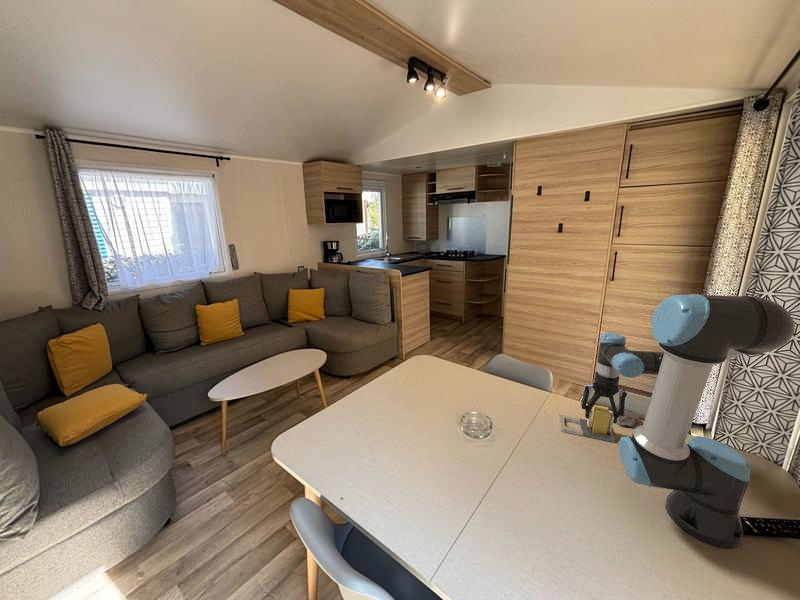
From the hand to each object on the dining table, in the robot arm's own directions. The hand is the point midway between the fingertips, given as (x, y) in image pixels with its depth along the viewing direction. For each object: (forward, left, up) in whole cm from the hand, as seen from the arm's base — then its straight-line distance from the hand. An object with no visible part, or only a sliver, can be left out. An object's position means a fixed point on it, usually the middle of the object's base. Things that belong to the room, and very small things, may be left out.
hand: (599, 427), depth 122 cm
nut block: (0, 0, -2) cm, 2 cm away
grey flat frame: (0, +4, -2) cm, 5 cm away
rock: (+12, -12, -2) cm, 17 cm away
